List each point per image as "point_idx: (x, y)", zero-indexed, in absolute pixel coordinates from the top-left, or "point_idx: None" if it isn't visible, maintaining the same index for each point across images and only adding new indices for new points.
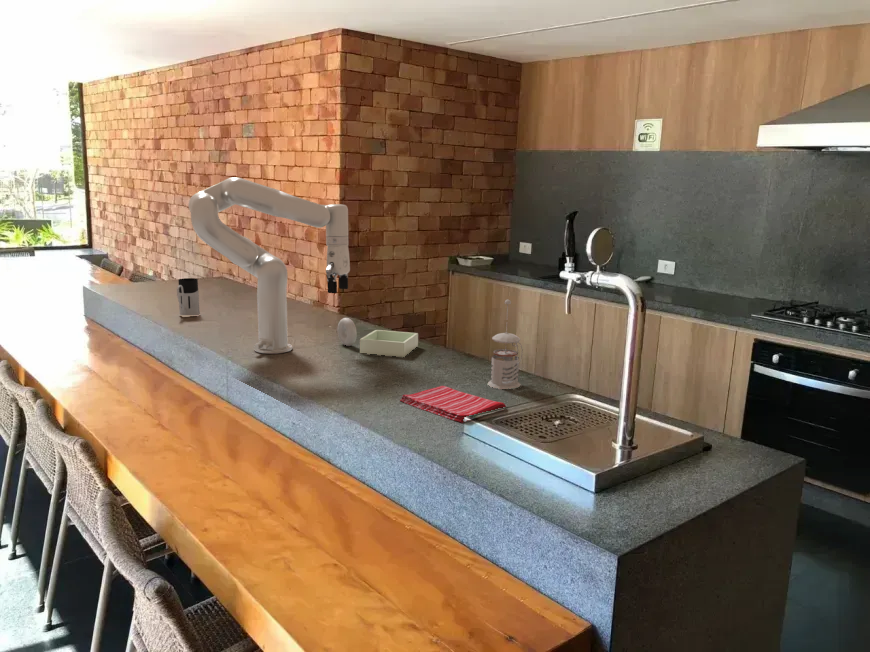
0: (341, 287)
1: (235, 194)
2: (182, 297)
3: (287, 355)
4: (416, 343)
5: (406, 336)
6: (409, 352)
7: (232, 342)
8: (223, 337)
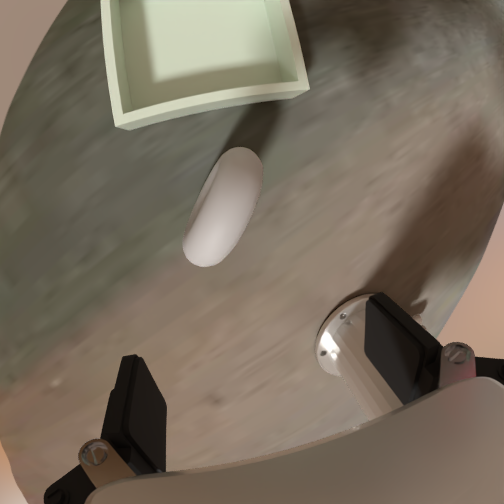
0: (158, 396)
1: None
2: None
3: (393, 271)
4: None
5: (113, 10)
6: None
7: (327, 425)
8: None
